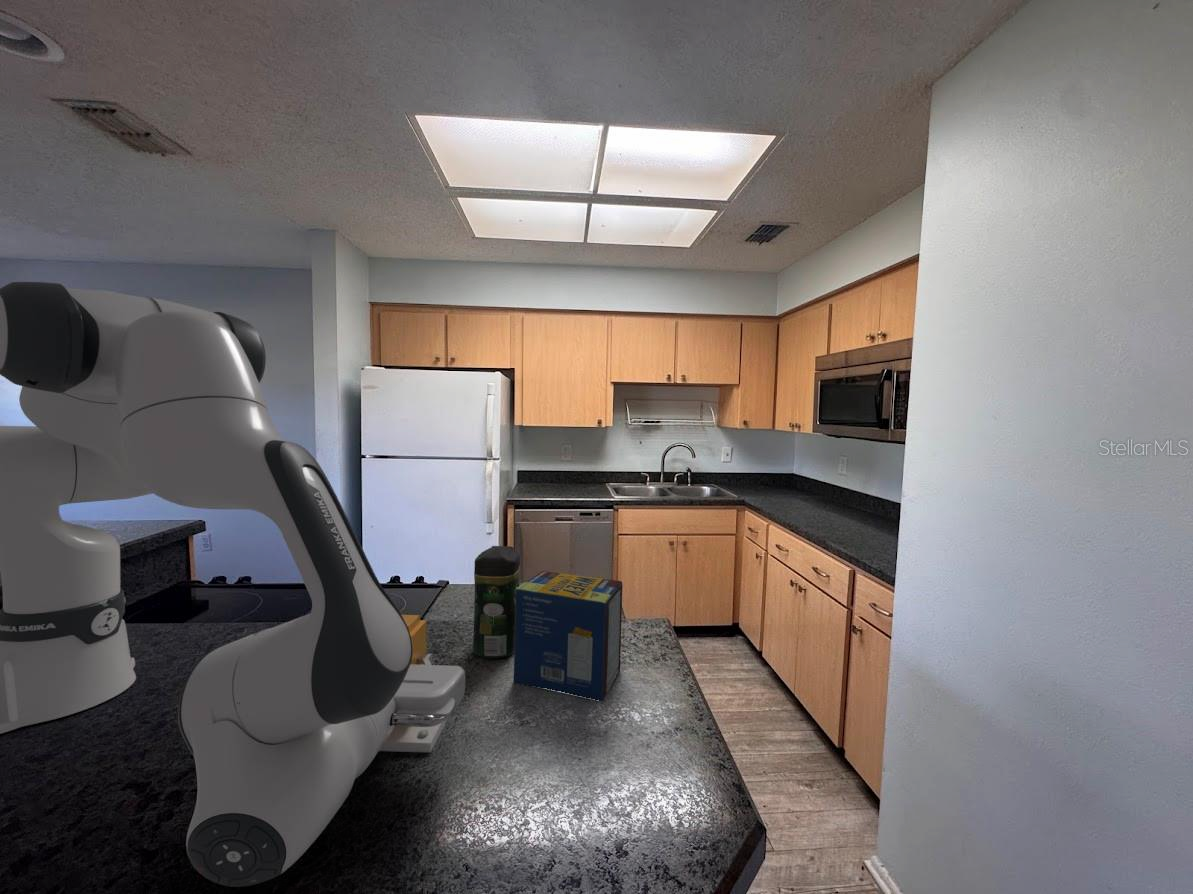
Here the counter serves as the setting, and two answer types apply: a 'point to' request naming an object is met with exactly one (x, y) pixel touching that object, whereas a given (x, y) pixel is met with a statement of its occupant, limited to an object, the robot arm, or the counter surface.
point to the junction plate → (412, 738)
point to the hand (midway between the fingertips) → (403, 657)
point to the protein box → (568, 633)
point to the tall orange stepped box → (416, 635)
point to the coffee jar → (495, 601)
